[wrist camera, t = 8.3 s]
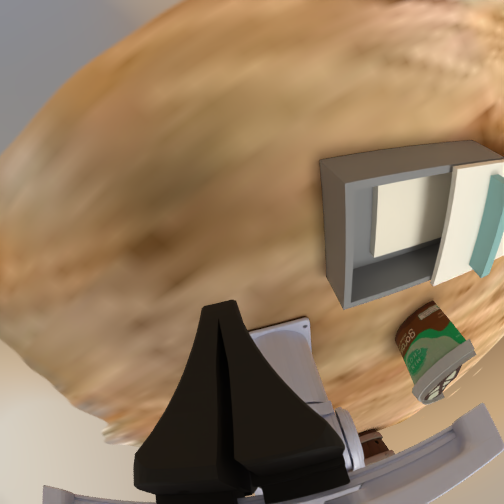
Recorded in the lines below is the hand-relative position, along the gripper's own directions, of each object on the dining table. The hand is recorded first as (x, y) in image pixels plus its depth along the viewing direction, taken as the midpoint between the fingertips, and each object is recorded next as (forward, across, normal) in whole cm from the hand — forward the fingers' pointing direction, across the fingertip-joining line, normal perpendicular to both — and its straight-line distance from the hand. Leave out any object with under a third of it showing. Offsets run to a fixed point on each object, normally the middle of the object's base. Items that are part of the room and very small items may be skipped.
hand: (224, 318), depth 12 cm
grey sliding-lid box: (+10, -16, +4) cm, 19 cm away
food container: (+11, -20, +24) cm, 33 cm away
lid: (+6, -25, +4) cm, 26 cm away
